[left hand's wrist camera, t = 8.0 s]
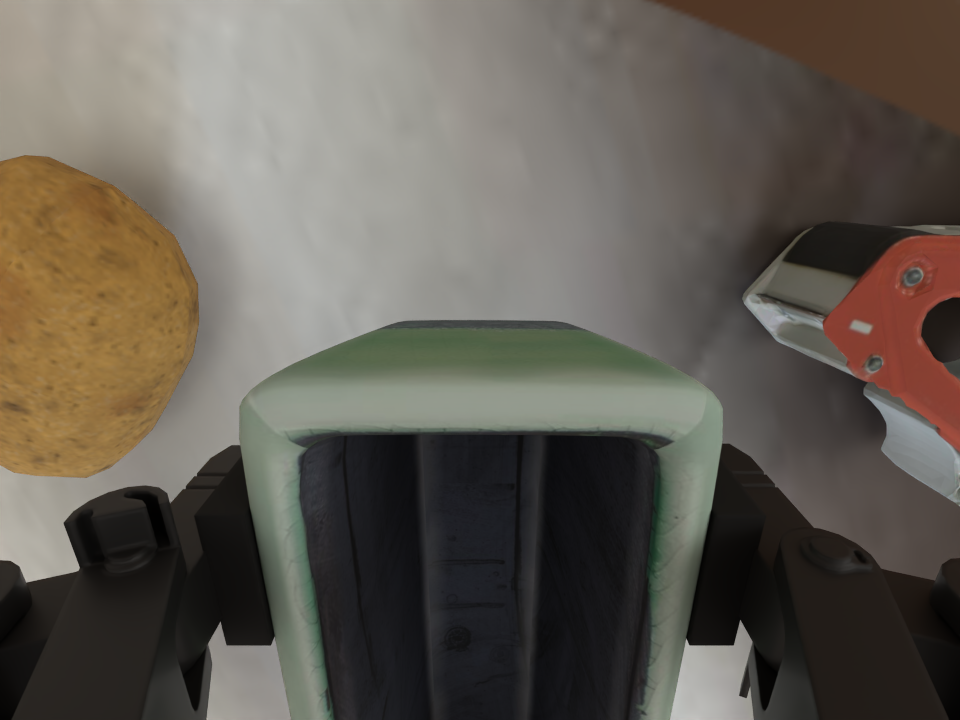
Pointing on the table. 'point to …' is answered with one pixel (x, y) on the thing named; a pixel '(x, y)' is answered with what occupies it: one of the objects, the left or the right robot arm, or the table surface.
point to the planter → (480, 522)
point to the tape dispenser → (876, 329)
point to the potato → (84, 320)
